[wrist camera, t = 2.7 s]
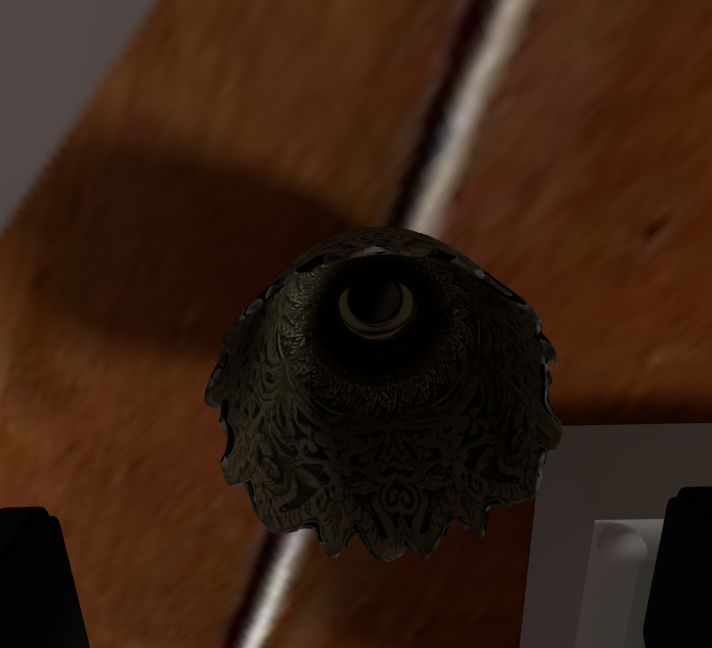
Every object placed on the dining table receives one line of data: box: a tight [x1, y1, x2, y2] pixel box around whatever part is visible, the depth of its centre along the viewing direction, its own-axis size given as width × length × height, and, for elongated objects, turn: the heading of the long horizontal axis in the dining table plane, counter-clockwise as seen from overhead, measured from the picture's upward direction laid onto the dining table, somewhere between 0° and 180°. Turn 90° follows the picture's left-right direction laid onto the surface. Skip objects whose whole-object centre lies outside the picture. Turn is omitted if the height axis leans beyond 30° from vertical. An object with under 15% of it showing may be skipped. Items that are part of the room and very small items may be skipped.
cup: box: [204, 227, 563, 562], centre depth 16 cm, size 8×7×8 cm
